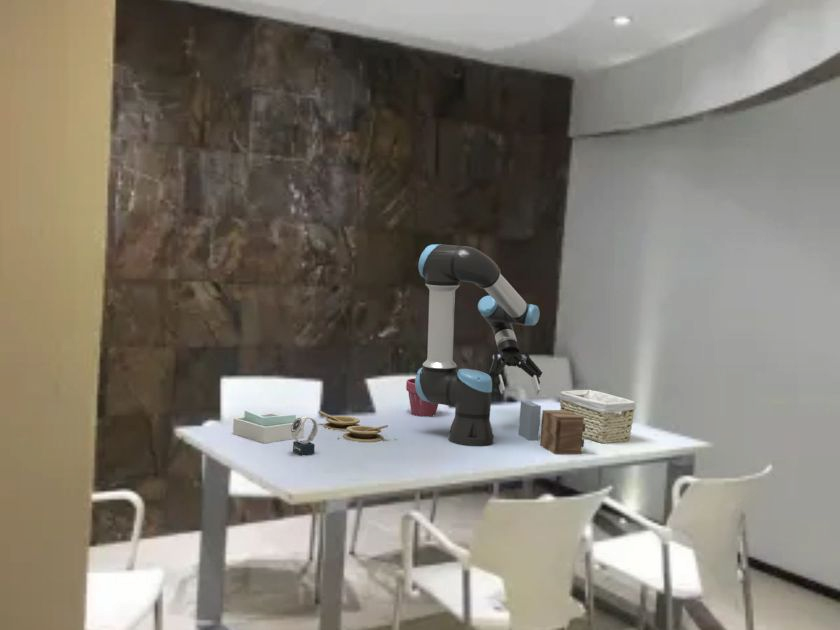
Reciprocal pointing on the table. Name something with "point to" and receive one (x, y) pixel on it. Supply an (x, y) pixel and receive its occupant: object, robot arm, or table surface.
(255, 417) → the mint green square box
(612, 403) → the storage basket
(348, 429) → the tableware set
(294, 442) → the watch
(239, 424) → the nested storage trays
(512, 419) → the table surface
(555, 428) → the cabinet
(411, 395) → the plant pot
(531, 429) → the grey rectangular block
